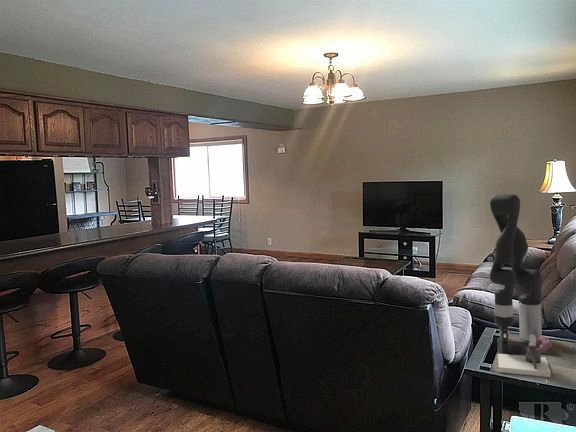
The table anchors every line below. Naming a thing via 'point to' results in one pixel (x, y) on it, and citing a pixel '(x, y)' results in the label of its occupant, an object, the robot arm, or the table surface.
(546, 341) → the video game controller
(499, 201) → the robot arm
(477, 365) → the table surface
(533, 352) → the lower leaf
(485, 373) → the table surface
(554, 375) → the table surface
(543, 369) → the board
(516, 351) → the grey rectangular block
